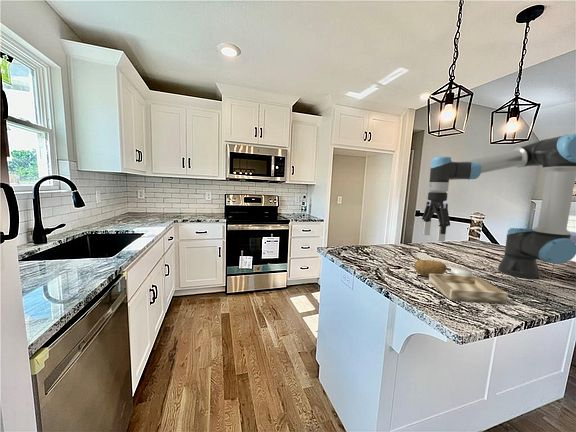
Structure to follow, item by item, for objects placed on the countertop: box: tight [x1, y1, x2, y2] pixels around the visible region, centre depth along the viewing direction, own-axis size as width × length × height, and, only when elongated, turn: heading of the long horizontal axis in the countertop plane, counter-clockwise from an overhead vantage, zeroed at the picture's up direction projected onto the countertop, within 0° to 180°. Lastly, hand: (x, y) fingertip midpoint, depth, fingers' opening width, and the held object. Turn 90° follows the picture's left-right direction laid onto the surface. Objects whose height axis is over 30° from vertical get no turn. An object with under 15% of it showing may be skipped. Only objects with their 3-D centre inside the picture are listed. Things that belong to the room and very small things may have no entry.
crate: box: [428, 273, 509, 305], centre depth 99 cm, size 19×17×4 cm
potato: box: [413, 259, 448, 278], centre depth 115 cm, size 10×14×8 cm
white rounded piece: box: [450, 266, 473, 276], centre depth 114 cm, size 8×8×4 cm
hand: (433, 237), depth 113 cm, fingers open, 13 cm apart
